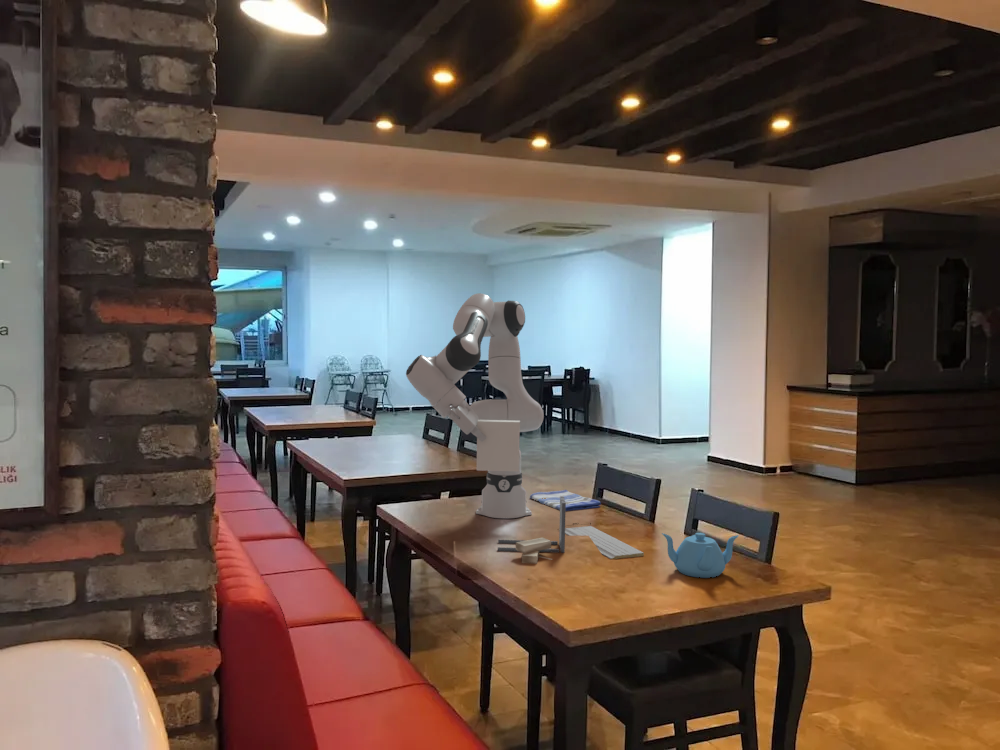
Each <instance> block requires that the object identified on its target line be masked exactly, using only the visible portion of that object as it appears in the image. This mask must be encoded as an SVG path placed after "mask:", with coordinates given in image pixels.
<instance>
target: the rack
mask: <svg viewBox="0 0 1000 750" xmlns="http://www.w3.org/2000/svg"><path fill="white" fill-rule="evenodd" d="M566 512H567V511H566V502H565V499H564V497H563V496H560V510H559V528H558V532H559V534H558V535H559V536H558V537H559V538H558V541H557V540H550V541H551V546H552V545H553V546H558V545H559V548H549V549H544V550H539V553H556V554H557V553H559V554H560V553H562V554H563V553H564V554H565V552H566V551H565V549H566V548H565V546H566V545H565V543H566V542H565V541H566V534H565V528H566ZM497 541H498V544H499V545H501V544H504V545H505V544H507V545H509V544H510V545H516V542H521V541H526V540H523V539H520V540H518V539H498V540H497ZM497 552H512V553H513V552H515V553H516V552H517V553H519V552H520V551H518V550H516V547H502V546H501V547H500V546H499V547H498V546H497ZM520 553H521V552H520Z"/></svg>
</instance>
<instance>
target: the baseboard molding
mask: <svg viewBox="0 0 1000 750" xmlns="http://www.w3.org/2000/svg"><path fill="white" fill-rule="evenodd" d="M589 524H590V525H589V526H588V525H587V526H582V525H584V523H583V524H580V526H578V527H577V526H576V527H571V526H574V525H578V522H575V523H572V524H571V525H567V526H568V527H565V536H566V535H567V536H570V537H571V536H574V537H577V536H587V537H589V538H590V540H591V541H592V542H593V544H594V545H595V547H596V548H597V549H598V551H599V552H600V553H601V555H602V556H604V557H606V558H608V559H609V560H617V559H627V558H637V557H644V555H645V553H644V552H643V551H641V550H640V549H637V548H636V547H633V546H631V545H629V544H627V543H625V542H624V541H621V540H619V539H618V538H616V537H613V536H612V535H609V534H608V533H605V532H604V531H602V530H599V529H598V528H596V527H594V526H592V525H591V524H592V523H591V522H589ZM569 526H570V527H569Z"/></svg>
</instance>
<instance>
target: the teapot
mask: <svg viewBox="0 0 1000 750" xmlns="http://www.w3.org/2000/svg"><path fill="white" fill-rule="evenodd" d="M661 535H663V536H664V538H665V539H666V542H667V556H668V558H669V559H670V560H671V562H673V565H674V567H675V568H676V569H677V571H679V573H681V574H682V575H685V576H689V577H694V578H699V577H700V579H708V578H710V577H712V578H717V577H719V576H720V575H721V574H723V572H724V571H725V569H726V565H727V564H729V562H730V561H731V559H732V556H733V544H734V542H735V541H736V539H738V537H739V535H732V536H730V537H729V538H728V540H727V541H726V547H725V550H724V551H722V549H721V548H720V546H719V544H718V542H717V541H716V540H715V539H714V538H711V537H708V536H706V535H707V534H705V532H695V534H692V535H690V536H686V537H685V538H684V539H683V540H682V541H681V543H680V544H679V546H678V548H677V549H676V550H675V548H674V541H673V537H671V536H670V535H669V534H666V533H661ZM716 576H717V577H716ZM710 579H711V578H710Z"/></svg>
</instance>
